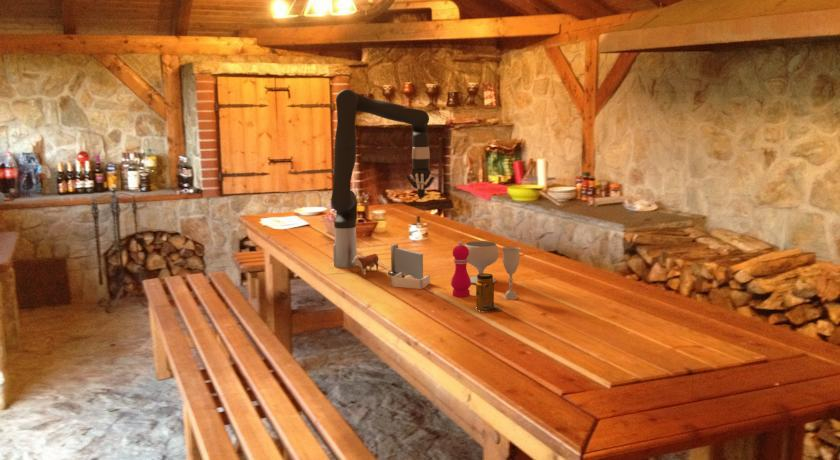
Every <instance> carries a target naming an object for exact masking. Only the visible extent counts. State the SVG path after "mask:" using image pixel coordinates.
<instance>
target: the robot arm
mask: <svg viewBox="0 0 840 460" xmlns="http://www.w3.org/2000/svg"><path fill="white" fill-rule="evenodd" d="M335 103H336V119H337V121H336V122H337V123H336V130H335V136H334V148H333V149H334V150H333V185H332V192H331V197H330V198H331V200H330V202H331V206H332V208H333V209H334V211H336V214H335V218H334V225H333V226H334V244H333V245H332V249H333V251H332V253H333V267H336V268H341V269H349V268H355V267H357V266H358V264H356V263H353V262H352V261H353V260H354V258H355V257H356V256H358V254H357V253H358V252H357V250H358V249H357V225H356V224H357V219H358V199H357V195H356V194H355V192H354V191H353V190H352V189H351V188H352V187H351V181H352V175H353V172H354V169H355V166H356V160H357V133H356V117H357V112H359V113H364V114H365V113H366V114H370V115H373V116H376V117H380V118H382V119H386V120H390V121H393V122H397V123H405V124H408V125H411V131H412V138H411V141H412V146H411V147H412V150H411V169H412V170H411V174H409V175H408V176H406V179H407V181H408V182H409V183H410V184H411V186H412V188H414V189H417V197H418V198H419V199H424V197H425V196H426V189H428V188H430V187H431V185H432V183H434V181H435V180H436V176H434V175H433V174H432V171H431V167H430V166H431V165H430V164H431V160H430V159H431V158H430V157H431V154H430V153H431V152H430V138H429V134H428V132H429V131H428V130H429V128H428V123H429V122H430V116H429V114H428V113H427V111H425V110H422V109H417V108H413V107H408V106H404V105H403V104H397V103H393V102H389V101H383V100H378V99H373V98H370V97H366V96H363V95H361V94H359V93H357V92H355V91H354V90H352V89H348V88H347V89H342V90H341V91H339V92H338V93H337V95H336V97H335ZM427 180H428V181H427Z"/></svg>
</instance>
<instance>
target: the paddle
mask: <svg viewBox="0 0 840 460" xmlns="http://www.w3.org/2000/svg"><path fill="white" fill-rule="evenodd" d="M390 267H391V269H390V271H392V272H397V273H400V272H402V276H403V275H404V276H407V275H411V276H412V277H413V278H414V279H422V278H423V277H424V253H420V252H416V251H411V250H409V249H404V248H401V247H399V244H398V243H397V244H395V243H393V244H390Z"/></svg>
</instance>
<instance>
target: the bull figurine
mask: <svg viewBox="0 0 840 460" xmlns="http://www.w3.org/2000/svg"><path fill="white" fill-rule="evenodd" d="M352 262H353V263H356V264H357V266H358V267H360V268H361V274H362V275H363V276H365V275H366V274H367V272H371V271H372V269H373V268H374V267H375V266H376V269H375V272H378V271H379V263H378V262H379V256H378V255H377V253H373V254H369V255H360V256H359V255H357V256H356V257H355V258H354V260H353V261H352ZM367 269H368V271H367ZM366 271H367V272H366Z"/></svg>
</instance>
